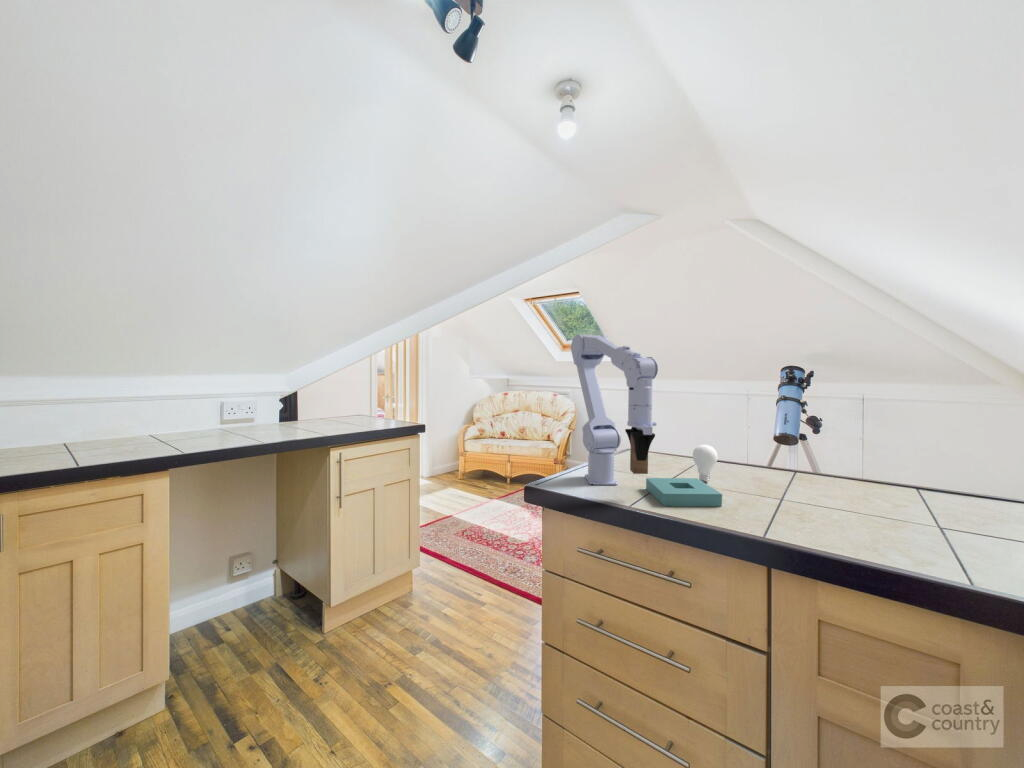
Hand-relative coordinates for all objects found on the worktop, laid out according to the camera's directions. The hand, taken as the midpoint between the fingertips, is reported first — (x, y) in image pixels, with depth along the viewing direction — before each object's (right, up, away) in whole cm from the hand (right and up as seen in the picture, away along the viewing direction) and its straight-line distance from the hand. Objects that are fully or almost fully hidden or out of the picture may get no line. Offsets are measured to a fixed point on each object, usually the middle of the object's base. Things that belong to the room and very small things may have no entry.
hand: (639, 458), depth 106 cm
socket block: (+12, -10, +2) cm, 16 cm away
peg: (0, -4, 0) cm, 4 cm away
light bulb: (+24, -10, +16) cm, 30 cm away
